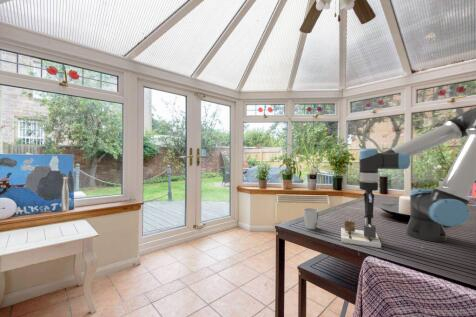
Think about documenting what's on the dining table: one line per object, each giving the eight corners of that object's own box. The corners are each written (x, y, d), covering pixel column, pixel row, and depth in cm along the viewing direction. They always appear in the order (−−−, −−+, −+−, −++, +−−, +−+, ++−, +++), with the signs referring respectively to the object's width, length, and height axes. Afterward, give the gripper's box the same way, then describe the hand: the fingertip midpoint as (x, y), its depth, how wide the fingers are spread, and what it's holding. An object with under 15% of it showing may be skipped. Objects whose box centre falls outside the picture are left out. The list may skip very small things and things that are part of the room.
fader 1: (354, 229, 107) (354, 220, 107) (354, 232, 104) (354, 221, 104) (344, 228, 109) (344, 218, 109) (344, 230, 106) (344, 220, 106)
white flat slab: (375, 236, 106) (375, 231, 106) (381, 248, 93) (381, 242, 93) (341, 231, 113) (341, 227, 113) (341, 242, 99) (341, 237, 99)
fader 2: (374, 235, 99) (374, 225, 99) (375, 238, 96) (375, 227, 96) (363, 234, 101) (363, 223, 101) (364, 236, 98) (364, 225, 98)
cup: (319, 230, 115) (319, 212, 115) (304, 229, 116) (304, 211, 116) (317, 225, 123) (317, 208, 122) (302, 225, 124) (302, 207, 124)
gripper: (358, 179, 109) (358, 225, 109) (360, 182, 97) (361, 234, 97) (375, 180, 106) (375, 227, 106) (380, 183, 94) (380, 236, 94)
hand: (368, 230), depth 102 cm, fingers closed
